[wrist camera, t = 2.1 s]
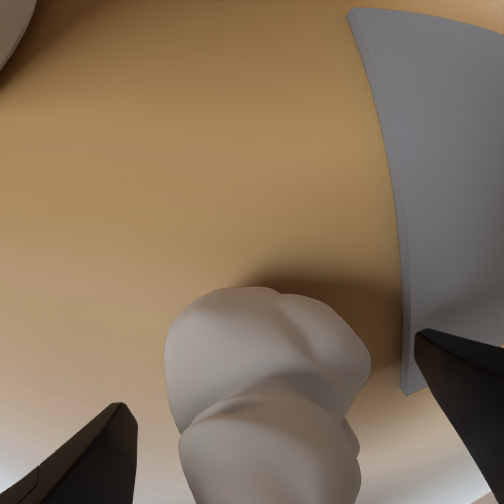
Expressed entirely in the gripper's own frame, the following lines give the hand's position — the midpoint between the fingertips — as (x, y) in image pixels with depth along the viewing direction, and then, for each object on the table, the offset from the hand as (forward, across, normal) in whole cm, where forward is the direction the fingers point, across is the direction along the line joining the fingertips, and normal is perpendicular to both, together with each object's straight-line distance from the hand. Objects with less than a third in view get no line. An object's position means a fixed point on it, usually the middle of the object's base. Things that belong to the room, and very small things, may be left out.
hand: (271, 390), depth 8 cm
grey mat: (+2, -10, -3) cm, 11 cm away
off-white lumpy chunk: (+2, 0, 0) cm, 2 cm away
